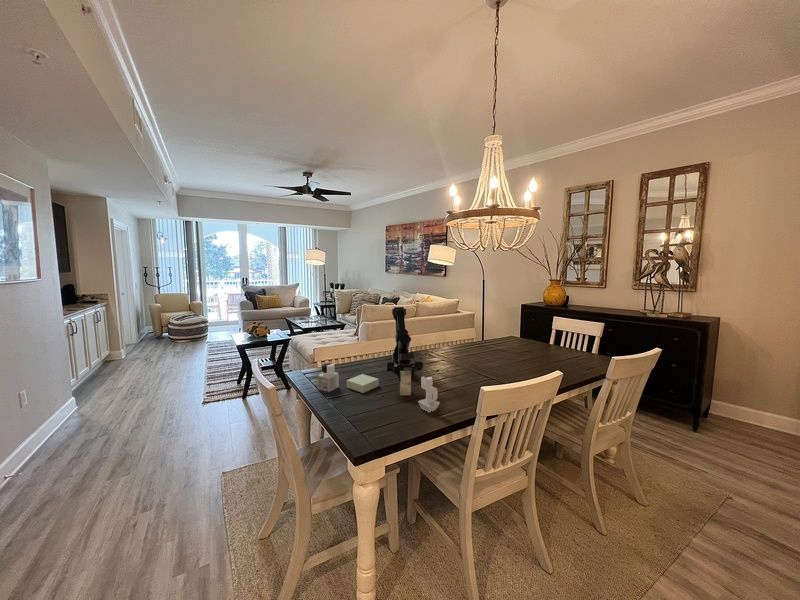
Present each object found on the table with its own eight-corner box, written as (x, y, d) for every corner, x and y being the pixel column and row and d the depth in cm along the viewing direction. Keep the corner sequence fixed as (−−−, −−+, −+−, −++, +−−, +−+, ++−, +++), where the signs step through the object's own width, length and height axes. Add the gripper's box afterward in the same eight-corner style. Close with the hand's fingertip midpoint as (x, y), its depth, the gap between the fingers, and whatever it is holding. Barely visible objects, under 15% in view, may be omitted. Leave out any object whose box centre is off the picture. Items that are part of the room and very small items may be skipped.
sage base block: (362, 380, 186) (362, 374, 185) (378, 386, 179) (378, 378, 178) (346, 387, 176) (346, 380, 176) (363, 393, 169) (363, 385, 169)
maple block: (400, 391, 172) (400, 370, 170) (409, 391, 172) (409, 370, 171) (400, 395, 167) (401, 374, 165) (410, 394, 167) (411, 373, 166)
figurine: (430, 415, 145) (430, 382, 143) (415, 408, 153) (416, 376, 151) (441, 411, 150) (442, 379, 148) (427, 403, 157) (428, 373, 155)
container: (318, 389, 174) (317, 365, 172) (327, 384, 181) (327, 361, 179) (329, 392, 170) (329, 367, 169) (339, 387, 177) (338, 363, 175)
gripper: (386, 346, 170) (387, 375, 160) (422, 346, 171) (426, 374, 162) (385, 357, 178) (386, 384, 169) (420, 356, 180) (423, 383, 171)
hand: (405, 381), depth 167 cm, fingers open, 6 cm apart
